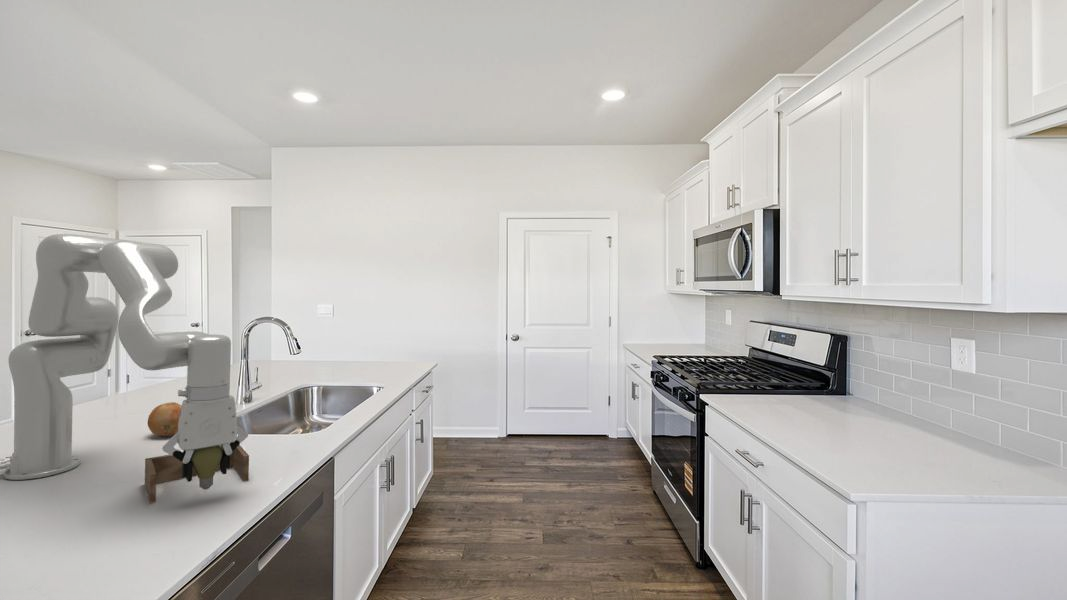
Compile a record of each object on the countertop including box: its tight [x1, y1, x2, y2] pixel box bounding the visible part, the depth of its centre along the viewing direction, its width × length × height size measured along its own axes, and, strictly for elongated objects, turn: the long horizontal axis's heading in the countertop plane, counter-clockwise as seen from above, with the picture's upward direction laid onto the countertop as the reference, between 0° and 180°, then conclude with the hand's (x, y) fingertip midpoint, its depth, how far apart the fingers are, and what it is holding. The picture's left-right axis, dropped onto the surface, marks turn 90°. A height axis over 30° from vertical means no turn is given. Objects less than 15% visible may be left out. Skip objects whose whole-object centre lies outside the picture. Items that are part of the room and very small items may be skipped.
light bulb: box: [191, 446, 222, 490], centre depth 97 cm, size 6×6×10 cm
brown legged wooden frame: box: [144, 444, 250, 504], centre depth 105 cm, size 18×12×6 cm, turn 135°
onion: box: [147, 401, 182, 437], centre depth 136 cm, size 10×10×10 cm
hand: (206, 474), depth 97 cm, fingers closed on light bulb, 5 cm apart
